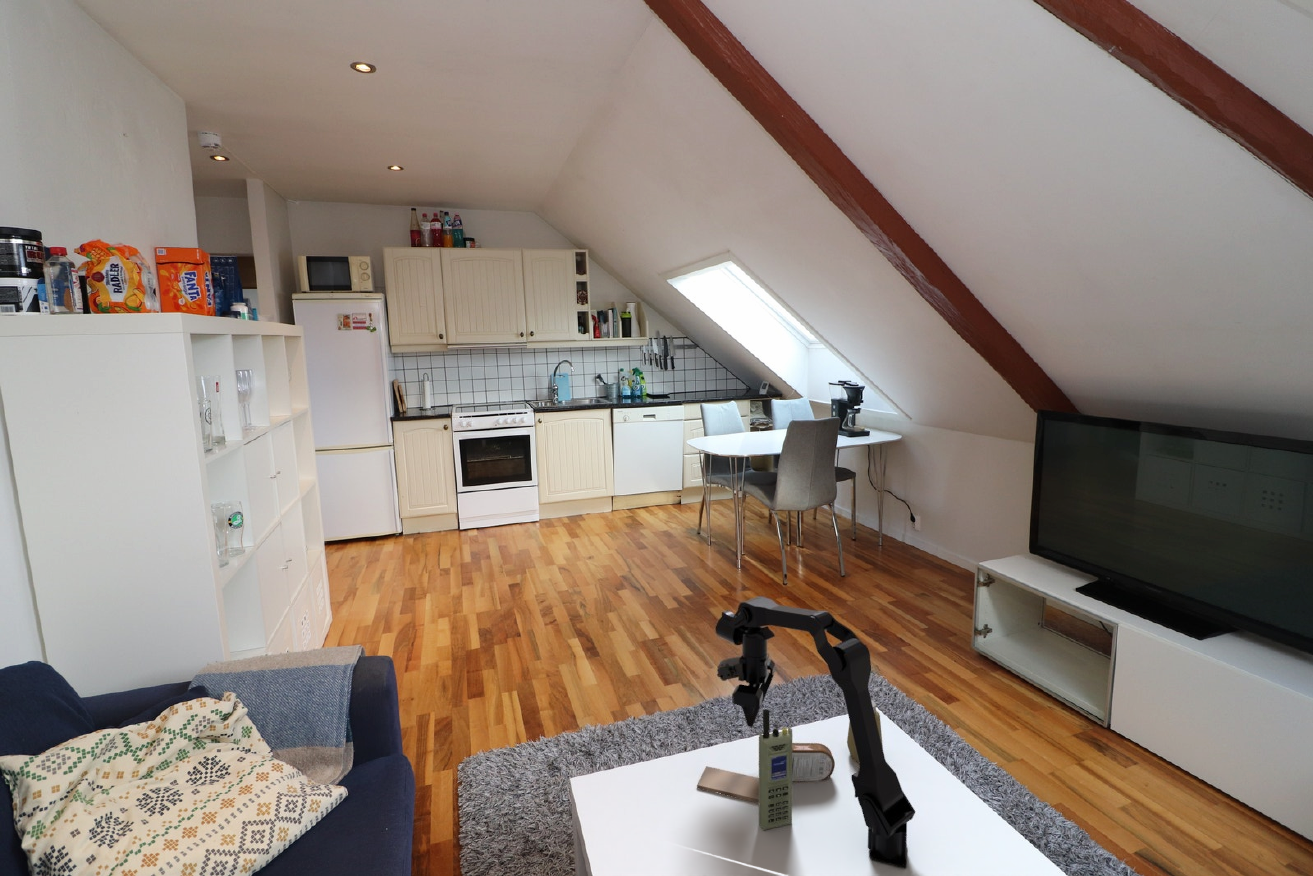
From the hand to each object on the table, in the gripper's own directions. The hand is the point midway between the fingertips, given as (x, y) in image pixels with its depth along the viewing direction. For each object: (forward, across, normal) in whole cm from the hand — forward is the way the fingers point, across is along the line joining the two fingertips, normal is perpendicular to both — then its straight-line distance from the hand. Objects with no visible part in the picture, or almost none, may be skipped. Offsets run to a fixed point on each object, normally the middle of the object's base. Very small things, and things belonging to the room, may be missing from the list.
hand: (754, 715), depth 147 cm
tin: (+12, +3, +11) cm, 16 cm away
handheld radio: (+12, +18, +8) cm, 23 cm away
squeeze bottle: (+12, -10, +24) cm, 29 cm away
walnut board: (+12, +10, -2) cm, 16 cm away
